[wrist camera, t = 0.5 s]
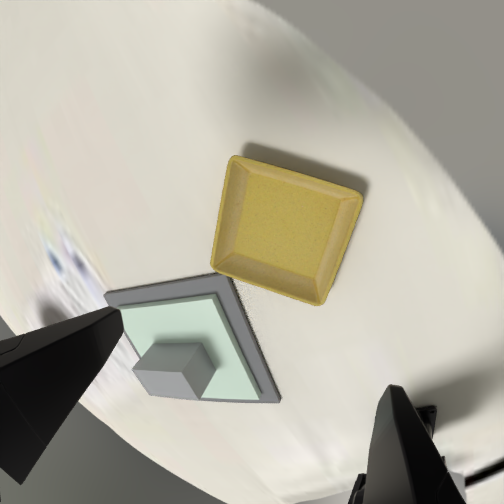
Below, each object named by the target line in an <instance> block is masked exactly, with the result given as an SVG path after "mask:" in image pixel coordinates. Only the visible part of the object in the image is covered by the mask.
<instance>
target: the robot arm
mask: <svg viewBox="0 0 504 504" xmlns="http://www.w3.org/2000/svg"><path fill="white" fill-rule="evenodd" d="M123 332H124V324H123V319H122V314H121V311H120V310H119V309H117V308H115V307H112V306H108V307H105V308H102V309H99V310H96V311H93V312H90V313H87V314H84V315H81V316H78V317H75V318H71V319H68V320H65V321H62V322H59V323H56V324H53V325H50V326H47V327H44V328H40V329H37V330H34V331H31V332H28V333H26V334H22V335H19V336H15V337H12V338H9V339H5V340H1V341H0V468H2V469H3V470H4V471H5V472H6V473H7V474H8V475H9V476H10V477H12V478H13V479H14V480H15V481H16V482H18V483H19V484H20V485H21V484H23V482H24V481H25V479H26V477H27V476H28V474H29V473H30V471H31V470H32V468H33V467H34V465H35V464H36V462H37V461H38V459H39V458H40V456H41V454H42V453H43V451H44V450H45V449H46V446H47V445H48V444H49V442H50V441H51V439H52V438H53V436H54V435H55V433H56V432H57V431H58V429H59V427H60V426H61V425H62V423H63V422H64V420H65V419H66V418H67V416H68V415H69V413H70V412H71V410H72V409H73V408H74V406H75V405H76V403H77V402H78V401H79V399H80V398H81V396H82V395H83V394H84V392H85V391H86V389H87V388H88V387H89V385H90V384H91V382H92V381H93V380H94V378H95V377H96V376H97V374H98V373H99V372H100V370H101V369H102V367H103V366H104V364H105V363H106V361H107V359H108V358H109V356H110V354H111V353H112V351H113V349H114V348H115V346H116V344H117V343H118V341H119V339H120V338H121V336H122V334H123ZM436 413H437V409H436V406H430V407H424V408H419V409H415V408H414V406H413V405H412V403H411V401H410V399H409V398H408V396H407V394H406V392H405V391H404V389H403V387H401V386H398V385H392V384H391V385H389V386H388V387H387V388H386V390H385V392H384V394H383V395H382V397H381V399H380V401H379V403H378V406H377V411H376V416H375V423H374V428H373V433H372V438H371V443H370V449H369V456H368V466H367V474H364V473H362V474H358V477H357V480H356V481H355V484H354V487H353V490H352V494H351V496H350V499H349V502H348V504H466V503H465V501H464V499H463V498H462V496H461V494H460V493H459V491H458V489H457V487H456V485H455V483H454V481H453V480H452V477H451V475H450V473H449V472H447V471H448V470H447V466H446V461H445V456H442V457H441V456H440V454H439V452H438V450H437V448H436V446H435V445H434V443H433V441H432V438H433V433H434V427H435V420H436ZM0 502H1V498H0Z"/></svg>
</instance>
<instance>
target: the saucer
mask: <svg viewBox="0 0 504 504" xmlns="http://www.w3.org/2000/svg"><path fill="white" fill-rule="evenodd" d="M362 204H363V196H362V194H361V193H360V192H358V191H356V190H353V189H350V188H348V187H344V186H341V185H338V184H335V183H332V182H328V181H325V180H322V179H318V178H315V177H312V176H309V175H305V174H302V173H299V172H295V171H292V170H288V169H285V168H281V167H278V166H274V165H271V164H267V163H264V162H260V161H256V160H252V159H249V158H245V157H241V156H238V155H234V156H232V157H231V158H230V160H229V161H228V165H227V170H226V175H225V180H224V186H223V191H222V197H221V203H220V208H219V214H218V220H217V226H216V231H215V238H214V243H213V248H212V255H211V261H210V265H211V267H212V268H213V269H214V270H215V271H216V272H218V273H220V274H223V275H226V276H229V277H232V278H234V279H237V280H240V281H243V282H246V283H249V284H252V285H255V286H258V287H261V288H264V289H267V290H270V291H273V292H275V293H278V294H281V295H284V296H287V297H290V298H293V299H296V300H299V301H302V302H305V303H308V304H311V305H314V306H321V305H323V304H324V303H325V301H326V298H327V296H328V293H329V291H330V288H331V286H332V284H333V281H334V279H335V276H336V274H337V271H338V268H339V266H340V263H341V261H342V258H343V255H344V253H345V250H346V248H347V245H348V242H349V240H350V237H351V234H352V231H353V229H354V227H355V223H356V220H357V218H358V216H359V213H360V210H361V207H362Z"/></svg>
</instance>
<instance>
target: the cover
mask: <svg viewBox="0 0 504 504" xmlns="http://www.w3.org/2000/svg"><path fill="white" fill-rule="evenodd" d="M117 309H119V310H120V311H121V314H122V319H123V324H124V329H125V331H126V333H127V335H128V336H129V338H130V340H131V341H132V343H133V345H134V346H135V348H136V350H137V351H138V353H139V355H140V356H141V359H140V360H139V361H138V362H137V363H136V365H135V366H134V367H133V368H132V371H133V372H134V374H135V375H136V377H137V378H138V380H139V381H140V382H141V384H142V385H143V387H144V388H145V390H146V391H147V392H148V394H149V395H151V396H158V397H167V398H176V399H186V400H198V401H199V400H200V399H201V398H217V399H243V400H259V399H260V397H261V392H260V390H259V388H258V385H257V383H256V381H255V379H254V377H253V375H252V373H251V371H250V369H249V366H248V364H247V362H246V360H245V358H244V356H243V354H242V351H241V349H240V347H239V345H238V343H237V340H236V338H235V336H234V334H233V332H232V329H231V327H230V325H229V323H228V320H227V318H226V316H225V314H224V311H223V309H222V307H221V305H220V302H219V300H218V298H217V295H216V294H210V295H203V296H195V297H188V298H181V299H173V300H165V301H157V302H149V303H141V304H133V305H124V306H118V307H117Z"/></svg>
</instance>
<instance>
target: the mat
mask: <svg viewBox="0 0 504 504" xmlns="http://www.w3.org/2000/svg"><path fill="white" fill-rule="evenodd" d="M210 294H216V295H217V298H218V300H219V302H220V305H221V307H222V309H223V311H224V314H225V316H226V318H227V320H228V323H229V325H230V327H231V329H232V332H233V334H234V336H235V338H236V340H237V343H238V345H239V347H240V349H241V351H242V354H243V356H244V358H245V360H246V362H247V364H248V366H249V369H250V371H251V373H252V375H253V377H254V379H255V381H256V383H257V385H258V388H259V390H260V392H261V397H260V399H259V400H243V399H217V398H201V399H200V400H201V401H216V402H236V403H280V401H281V398H280V396H279V394H278V392H277V389H276V387H275V385H274V382H273V380H272V378H271V375H270V373H269V371H268V368H267V366H266V364H265V361H264V359H263V357H262V354H261V352H260V349H259V347H258V345H257V342H256V340H255V338H254V335H253V333H252V330H251V328H250V326H249V323H248V321H247V318H246V316H245V313H244V311H243V309H242V306H241V304H240V301H239V299H238V296H237V294H236V291H235V289H234V286H233V284H232V281H231V279H230V277H229V276H226V275H223V274H220V273H217V274H212V275H206V276H200V277H195V278H189V279H183V280H178V281H172V282H166V283H160V284H155V285H149V286H143V287H137V288H131V289H125V290H119V291H113V292H107V293H105V294H104V295H103V296H104V298H105V300H106V301H107V303H108V305H109V306H112V307H115V308H117V307H118V306H124V305H133V304H141V303H149V302H157V301H165V300H173V299H181V298H188V297H195V296H203V295H210ZM124 334H125V335H126V337H127V339H128V340H129V342H130V344H131V345H132V347H133V349H134V350H135V352H136V354H137V355H138V357H139V358H140V359H141V356H140V355H139V353H138V351H137V350H136V348H135V346H134V345H133V343H132V341H131V340H130V338H129V336H128V335H127V333H126V331H125V329H124Z"/></svg>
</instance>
